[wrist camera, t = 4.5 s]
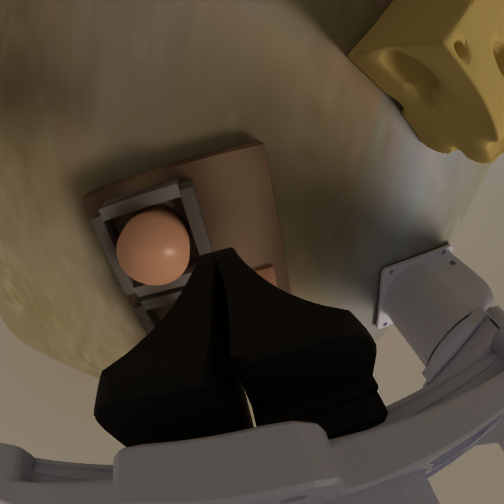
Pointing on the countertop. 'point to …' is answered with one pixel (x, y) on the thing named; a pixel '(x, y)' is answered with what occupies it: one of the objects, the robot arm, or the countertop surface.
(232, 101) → the countertop surface
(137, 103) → the countertop surface
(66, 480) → the robot arm
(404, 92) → the cheese
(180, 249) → the terracotta button
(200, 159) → the button panel
